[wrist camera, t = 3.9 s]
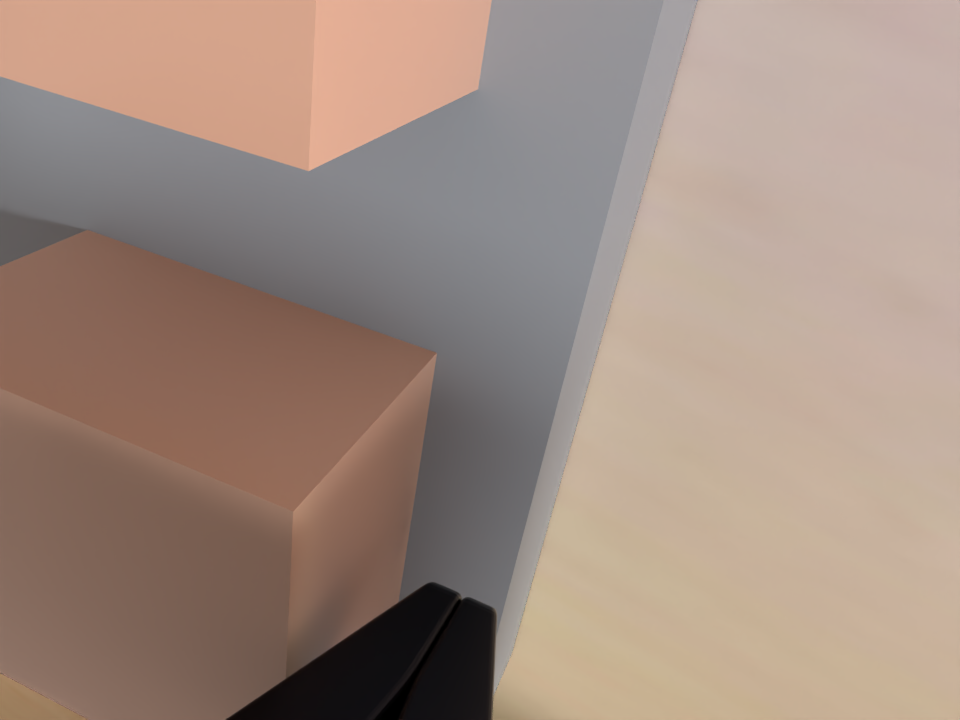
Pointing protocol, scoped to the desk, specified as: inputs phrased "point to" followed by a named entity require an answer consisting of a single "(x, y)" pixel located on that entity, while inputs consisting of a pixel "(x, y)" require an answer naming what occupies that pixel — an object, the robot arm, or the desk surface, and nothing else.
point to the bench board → (414, 249)
